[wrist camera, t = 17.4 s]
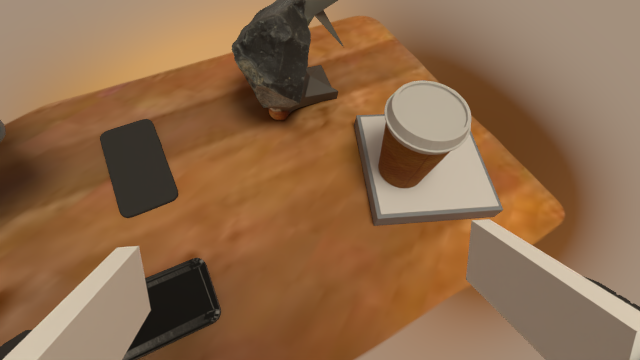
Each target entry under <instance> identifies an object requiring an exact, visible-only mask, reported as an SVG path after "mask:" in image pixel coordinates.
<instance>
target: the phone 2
mask: <svg viewBox="0 0 640 360" xmlns="http://www.w3.org/2000/svg"><path fill="white" fill-rule="evenodd" d="M145 281H146V287H147V292H148V297H149V303H150V308H151V311H150V312H149V314H148V316H147V317H146V319H145V321H144V323H143V324H142V326H141V328H140V330H139V331H138V333H137V335H136V336H135V338H134V340H133V342H132V343H131V345H130V347H129V349H128V350H127V352H126V354H125V355H124V357H123V359H122V360H137V359H139V358H141V357H143V356H145V355H147V354H150V353H152V352H154V351H156V350H158V349H160V348H162V347H164V346H166V345H168V344H171V343H173V342H175V341H177V340H179V339H181V338H183V337H185V336H187V335H190V334H192V333H194V332H196V331H198V330H200V329H202V328H204V327H206V326H209V325H211V324H213V323H215V322H216V321H217V320H218V319H219V317H220V315H221V308H220V305H219V302H218V299H217V296H216V293H215V290H214V287H213V284H212V281H211V278H210V275H209V271H208V268H207V265H206V263H205V262H204V261H203V260H202V259H200V258H194V259H191V260H189V261H186V262H184V263H181V264H179V265H176V266H174V267H172V268H169V269H167V270H164V271H162V272H160V273H157V274H155V275H152V276H150V277H147V278H145Z"/></svg>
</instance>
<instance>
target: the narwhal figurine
mask: <svg viewBox="0 0 640 360" xmlns="http://www.w3.org/2000/svg"><path fill="white" fill-rule="evenodd" d="M336 1H338V0H276V1H275V2H274V3H273V4H271V5H269V6H267V7H265V8H264V9H262V10H260V11H259V12H258V13H257V14H256V15H255V17H254V18H253V20H252V21H251V22H250V23H249V24H248V25H247V26H245V27H244V28H243V29H242V31H241V33H240V35H239V37H238V38H237V40H236V41H235V42H234V43H233V45H232V51H233V53H234V56H235V58H234V59H235V61H236V63H237V65H238V67H239V68H240V70H241V71H242V73H243V74H244V76H245V78H246V79H247V81H248V83H249V84H250V86H251V87H252V89H253V91H254V93H255V95H256V97H257V99H258V101H259V102H260V104H261V105H262V107H264V108H265V107H267V108H269V114H270V116H271V117H272V118H273V119H276V120H285V119H286V118H287V116H288V115H289V114H290V113H291V112H292V111H294V110H295V109H297V108H300V107H304V106H307V105H311V104H314V103H318V102H321V101H326V100H331V99H336V98H337V95H338V91H337V90H335V89H333V88H332V87H331V85H330V83H329V81H328V79H327V77H326V75H325V73H324V70H323V68H322V66H321V65H319V66H313V67H308V68H307V66H308V53H309V46H310V40H311V39H310V38H311V37H310V35H311V34H310V30H309V28H308V25H309V23H310V22H311V20H312V19H313V17H314V15H315V17H316V18H317V19H318V20H319V21H320V22H321V23H322V24H323V25H324V26H325V28H326V29H327V30H328V31H329V32H330V33H331V34H332V35H333V36H334V37H335V38H336V40H337V41H338V42H339V43H340V44H341V45H342V43H341V41H340V39H339V37H338V36H337V34H336V32H335V30H334V28H333V27H332V25H331V23H330V21H329V19H328V18H327V16H326V14H325V12H324V9H325V8H327V7H328V6H330V5H331V4H333V3H335V2H336ZM342 46H343V45H342Z"/></svg>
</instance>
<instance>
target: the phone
mask: <svg viewBox="0 0 640 360" xmlns="http://www.w3.org/2000/svg"><path fill="white" fill-rule="evenodd" d="M100 141H101V145H102V149H103V152H104V156H105V159H106V163H107V167H108V170H109V174H110V178H111V182H112V185H113V189H114V193H115V196H116V200H117V204H118V207H119V211H120V213H121V215H122V216H124V217H126V218H131V217H134V216H137V215H139V214H142V213H145V212H147V211H150V210H152V209H155V208H157V207H160V206H162V205H165V204H167V203H170V202H172V201H174V200H175V199H176V198H177V197H178V190H177V187H176V184H175V182H174V179H173V176H172V174H171V171H170V168H169V165H168V163H167V160H166V157H165V154H164V152H163V149H162V145H161V143H160V140H159V137H158V135H157V133H156V130H155V127H154V125H153V123H152V122H151V121H150V120H148V119H143V120H140V121H136V122H133V123H130V124H127V125H124V126H121V127H117V128H114V129H111V130H108V131H106V132H104V133H103V134H102V135H101V136H100Z"/></svg>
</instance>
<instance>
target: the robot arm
mask: <svg viewBox="0 0 640 360" xmlns="http://www.w3.org/2000/svg"><path fill="white" fill-rule="evenodd" d="M5 131H6V130H5V126H4V124H3V123H2V122H1V120H0V142H1V141H2V140H3V138H4V137H5ZM466 280H467V281H468V282H469V283H470V284H471V285H472V286H473V287H474V288H475V289H476V290H477V291H478V292H479V293H480V294H481V295H482V296H483V297H484V298H485V299H486V300H487V301H488V302H489V303H490V304H491V305H492V306H493V307H494V308H495V309H496V310H497V311H498V312H499V313H500V314H501V315H502V316H503V317H504V318H505V319H506V320H507V321H508V322H509V323H510V324H511V325H512V326H513V327H514V328H515V329H516V330H517V331H518V332H519V333H520V334H521V335H522V336H523V337H524V338H525V339H526V340H527V341H528V342H529V343H530V344H531V345H532V346H533V347H534V348H535V349H536V350H537V351H538V352H539V353H540V354H541V355H542V356H543V357H544V358H545V359H546V360H640V307H639V306H637V305H636V304H631V303H630V301H629V300H627V299H626V298H624V297H622V296H620V295H617V294H616V292H614V291H612V290H611V289H609V288H607V287H606V286H604V285H602V284H600V283H599V282H596V281H594V280H591V279H589V278H586V277H584V276H581V275H580V274H578V273H576V272H575V271H573V270H571V269H570V268H568V267H567V266H565V265H563V264H561V263H560V262H558V261H557V260H555V259H553V258H552V257H550V256H548V255H547V254H545V253H543V252H542V251H540V250H539V249H537V248H535V247H534V246H532V245H530V244H529V243H527V242H526V241H524V240H522V239H521V238H519V237H517V236H516V235H514V234H512V233H511V232H509V231H508V230H506V229H504V228H503V227H501V226H499V225H498V224H496V223H494V222H493V221H491V220H490V219H486V220H473V221H472V224H471V234H470V244H469V255H468V265H467V275H466ZM150 311H151V308H150V303H149V297H148V292H147V287H146V281H145V276H144V271H143V265H142V260H141V255H140V249H139V246H132V247H119V248H116V249H115V250H114V251H113V252H112V253H111V254H110V255H109V256H108V257H107V258H106V259H105V260H104V261H103V262H102V263H101V264H100V265H99V266H98V267H97V268H96V269H95V270H94V271H93V272H92V273H91V274H90V275H89V276H88V277H87V278H85V279H84V280H83V281H82V282H81V283H80V284H79V285H78V286H77V287H76V288H75V289H74V290H73V291H72V292H71V293H70V294H69V295H68V296H67V297H66V298H65V299H64V300H63V301H62V302H61V303H60V304H59V305H58V306H57V307H56V308H55V309H54V310H53V311H52V312H51V313H50V314H49V315H48V316H47V317H46V318H45V319H44V320H42V321H41V322H40V323H39V324H38V325H37V326H36V327H35V328H34V329H33V330H26V331H24V332H22V333H21V334H19V335H17V336H16V337H14V338H13V339H11V340H10V341H8V342H6V343H5V344H3V345H2V346H1V347H0V360H122V359H123V357H124V355H125V354H126V352H127V350H128V349H129V347H130V345H131V343H132V342H133V340H134V338H135V336H136V335H137V333H138V331H139V330H140V328H141V326H142V324H143V323H144V321H145V319H146V317H147V316H148V314H149V312H150Z"/></svg>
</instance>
